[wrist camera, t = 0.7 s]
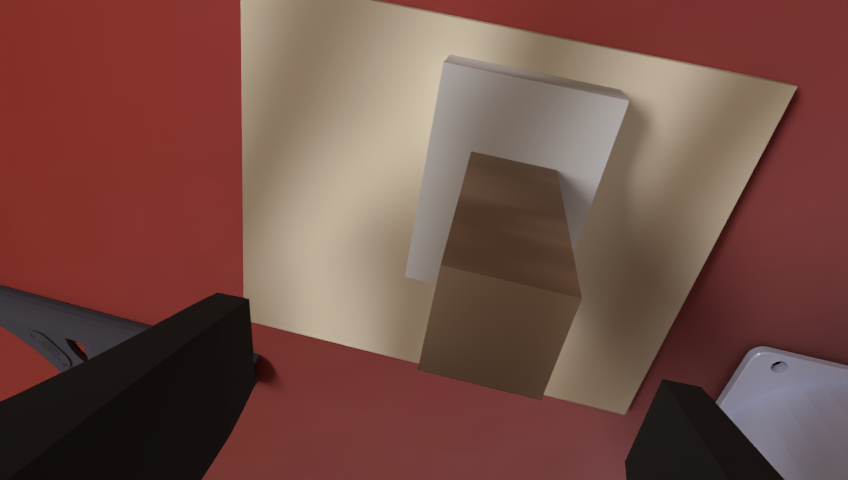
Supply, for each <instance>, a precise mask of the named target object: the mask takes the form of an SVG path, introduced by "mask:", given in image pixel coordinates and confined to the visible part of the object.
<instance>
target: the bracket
mask: <svg viewBox="0 0 848 480" xmlns="http://www.w3.org/2000/svg"><path fill="white" fill-rule="evenodd" d="M0 326H2V327H4V328H5V329H7V330H8V331H10V332H11V333H13V334H14V335H16V336H17V337H19V338H20V339H22V340H23V341H25V342H26V343H27V344H29V345H30V346H31V347H33V348H34V349H35V350H36V351H38V352H39V353H40V354H41V355H42V356H44V357H45V358H46V359H47V360H48V361H49V362H50V363H52V364H53V365H54V366H55V367H56V368H57V369H58V370H59V371H60V372H61V373H62V372H64V371H66V370H68V369H70V368H72V367H74V366H77V365H79V364H81V363H83V362H85V361H87V360H89V359H91V358H93V357H95V356H97V355H99V354H101V353H103V352H105V351H106V350H108V349H110V348H112V347H114V346H116V345H118V344H120V343H122V342H124V341H126V340H127V339H129V338H131V337H133V336H135V335H137V334H139V333H141V332H143V331H145V330H146V329H148V328H150V327H152V326H150V325H146V324H143V323H139V322H135V321H131V320H128V319H124V318H120V317H117V316H113V315H109V314H105V313H102V312H98V311H94V310H91V309H87V308H83V307H80V306H76V305H72V304H68V303H65V302H61V301H57V300H54V299H50V298H46V297H42V296H39V295H35V294H31V293H28V292H24V291H20V290H16V289H13V288H9V287H5V286H2V285H0ZM72 340H73V341H76V342H79V343H81V344H82V345H83V346H84V347H85V350H86V355H87V356H86V355H84V354H83V353H82V352H81V351H80V350H79V349H78V348H77V347H76V346H75V344H74V343H73V341H72ZM253 356H254V365H255V364H256V362H257V361H258V360H259V355H257V354H254V353H253ZM258 380H259V378H258V375H256V374H255V382H256V383H257V382H258ZM255 385H256V384H255Z"/></svg>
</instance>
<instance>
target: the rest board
mask: <svg viewBox="0 0 848 480" xmlns="http://www.w3.org/2000/svg"><path fill="white" fill-rule="evenodd" d="M450 54H451V55H456V56H461V57H466V58H470V59H475V60H480V61H485V62H490V63H495V64H499V65H504V66H509V67H514V68H519V69H523V70H528V71H533V72H538V73H543V74H548V75H552V76H557V77H562V78H567V79H572V80H577V81H581V82H586V83H591V84H596V85H601V86H606V87H610V88H615V89H620V90H621V92H622V93H623V94H624V95H625V96H626V97H627V98H628V100H629V104H628V107H627V109H626V112H625V115H624V117H623V120H622V123H621V126H620V128H619V131H618V134H617V136H616V139H615V142H614V145H613V147H612V150H611V153H610V155H609V158H608V161H607V163H606V166H605V169H604V172H603V174H602V177H601V180H600V182H599V185H598V188H597V191H596V193H595V196H594V199H593V201H592V204H591V207H590V209H589V212H588V215H587V218H586V220H585V223H584V226H583V228H582V231H581V234H580V237H579V239H578V242H577V245H576V247H575V250H574V253H573V255H574V260H575V265H576V270H577V276H578V281H579V286H580V291H581V296H582V300H581V302H580V305H579V307H578V310H577V312H576V315H575V317H574V320H573V322H572V325H571V327H570V330H569V332H568V335H567V337H566V340H565V342H564V345H563V347H562V350H561V352H560V355H559V357H558V360H557V362H556V365H555V367H554V370H553V372H552V375H551V377H550V380H549V382H548V385H547V387H546V390H545V392H544V395H547V396H551V397H555V398H559V399H563V400H567V401H571V402H575V403H579V404H583V405H587V406H591V407H595V408H599V409H603V410H607V411H611V412H615V413H619V414H623V415H625V413H626V411H627V409H628V408H629V406H630V404H631V402H632V400H633V398H634V396H635V394H636V392H637V390H638V389H639V387H640V385H641V383H642V381H643V379H644V377H645V375H646V373H647V372H648V370H649V368H650V366H651V364H652V362H653V360H654V358H655V356H656V354H657V353H658V351H659V349H660V347H661V345H662V343H663V341H664V339H665V337H666V335H667V334H668V332H669V330H670V328H671V326H672V324H673V322H674V320H675V318H676V316H677V315H678V313H679V311H680V309H681V307H682V305H683V303H684V301H685V299H686V297H687V296H688V294H689V292H690V290H691V288H692V286H693V284H694V282H695V280H696V278H697V277H698V275H699V273H700V271H701V269H702V267H703V265H704V263H705V261H706V259H707V258H708V256H709V254H710V252H711V250H712V248H713V246H714V244H715V242H716V240H717V239H718V237H719V235H720V233H721V231H722V229H723V227H724V225H725V223H726V221H727V220H728V218H729V216H730V214H731V212H732V210H733V208H734V206H735V204H736V202H737V201H738V199H739V197H740V195H741V193H742V191H743V189H744V187H745V185H746V183H747V182H748V180H749V178H750V176H751V174H752V172H753V170H754V168H755V166H756V164H757V163H758V161H759V159H760V157H761V155H762V153H763V151H764V149H765V147H766V145H767V144H768V142H769V140H770V138H771V136H772V134H773V132H774V130H775V128H776V126H777V125H778V123H779V121H780V119H781V117H782V115H783V113H784V111H785V109H786V107H787V106H788V104H789V102H790V100H791V98H792V96H793V94H794V92H795V90H796V88H797V86H795V85H792V84H790V83H785V82H780V81H775V80H770V79H765V78H761V77H756V76H751V75H746V74H741V73H736V72H731V71H726V70H721V69H716V68H711V67H706V66H701V65H696V64H691V63H686V62H681V61H676V60H671V59H666V58H661V57H657V56H652V55H647V54H642V53H637V52H632V51H627V50H622V49H617V48H612V47H607V46H602V45H597V44H592V43H587V42H582V41H577V40H572V39H567V38H562V37H557V36H553V35H548V34H543V33H538V32H533V31H528V30H523V29H518V28H513V27H508V26H503V25H498V24H493V23H488V22H483V21H478V20H473V19H468V18H463V17H458V16H453V15H449V14H444V13H439V12H434V11H429V10H424V9H419V8H414V7H409V6H404V5H399V4H394V3H389V2H384V1H379V0H241V78H242V178H243V277H244V298H247V299H249V303H250V316H251V322H254V323H258V324H262V325H266V326H270V327H274V328H278V329H282V330H286V331H290V332H294V333H298V334H302V335H306V336H310V337H314V338H318V339H322V340H326V341H330V342H334V343H338V344H342V345H346V346H350V347H354V348H358V349H362V350H366V351H370V352H374V353H378V354H382V355H386V356H390V357H394V358H398V359H402V360H406V361H410V362H414V363H418V364H419V361H420V356H421V352H422V347H423V342H424V338H425V333H426V329H427V324H428V320H429V315H430V311H431V306H432V302H433V297H434V292H435V288H436V284H434V283H430V282H425V281H421V280H417V279H413V278H409V277H405V273H406V267H407V262H408V256H409V251H410V245H411V240H412V234H413V228H414V223H415V217H416V212H417V206H418V201H419V195H420V190H421V184H422V179H423V173H424V168H425V162H426V156H427V151H428V145H429V140H430V134H431V129H432V123H433V118H434V112H435V107H436V101H437V96H438V90H439V84H440V79H441V73H442V68H443V62H444V61H445V60H446V59H447V57H448V56H449V55H450Z"/></svg>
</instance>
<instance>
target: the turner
mask: <svg viewBox="0 0 848 480" xmlns="http://www.w3.org/2000/svg"><path fill="white" fill-rule="evenodd" d="M628 104H629V100H628V98H627V97H626V96H625V95H624V94H623V93H622V92H621V90H620V89H615V88H610V87H606V86H601V85H596V84H591V83H586V82H581V81H577V80H572V79H567V78H562V77H557V76H552V75H548V74H543V73H538V72H533V71H528V70H523V69H519V68H514V67H509V66H504V65H499V64H495V63H490V62H485V61H480V60H475V59H470V58H466V57H461V56H456V55H451V54H450V55H449V56H448V57H447V59H446V60H445V61H444V62H443V68H442V73H441V79H440V84H439V90H438V96H437V101H436V107H435V112H434V118H433V123H432V129H431V134H430V140H429V145H428V151H427V156H426V162H425V168H424V173H423V179H422V184H421V190H420V195H419V201H418V206H417V212H416V217H415V223H414V228H413V234H412V240H411V245H410V251H409V256H408V262H407V267H406V273H405V277H409V278H413V279H417V280H421V281H425V282H430V283H434V284H436V288H435V292H434V297H433V302H432V306H431V311H430V315H429V320H428V324H427V329H426V333H425V338H424V342H423V347H422V352H421V356H420V361H419V365H418V370H421V371H425V372H429V373H433V374H437V375H441V376H445V377H449V378H453V379H457V380H461V381H465V382H469V383H473V384H477V385H482V386H486V387H490V388H494V389H498V390H502V391H506V392H510V393H514V394H518V395H522V396H526V397H530V398H534V399H538V400H542V397H543V395H544V392H545V390H546V387H547V385H548V382H549V380H550V377H551V375H552V372H553V370H554V367H555V365H556V362H557V360H558V357H559V355H560V352H561V350H562V347H563V345H564V342H565V340H566V337H567V335H568V332H569V330H570V327H571V325H572V322H573V320H574V317H575V315H576V312H577V310H578V307H579V305H580V302H581V300H582V296H581V291H580V286H579V281H578V276H577V270H576V265H575V260H574V255H573V253H574V250H575V247H576V245H577V242H578V239H579V237H580V234H581V231H582V228H583V226H584V223H585V220H586V218H587V215H588V212H589V209H590V207H591V204H592V201H593V199H594V196H595V193H596V191H597V188H598V185H599V182H600V180H601V177H602V174H603V172H604V169H605V166H606V163H607V161H608V158H609V155H610V153H611V150H612V147H613V145H614V142H615V139H616V136H617V134H618V131H619V128H620V126H621V123H622V120H623V117H624V115H625V112H626V109H627V107H628Z"/></svg>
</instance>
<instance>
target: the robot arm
mask: <svg viewBox="0 0 848 480" xmlns="http://www.w3.org/2000/svg"><path fill="white" fill-rule="evenodd" d="M779 361H780V362H781V363H780V364H777V365H773V364H774V363H776V362H779ZM255 384H256V382H255V369H254V356H253V342H252V329H251V316H250V303H249V299H247V298H242V297H237V296H232V295H226V294H221V293H216V294H214V295H212V296H209V297H207V298H205V299H203V300H201V301H199V302H197V303H195V304H193V305H192V306H190V307H188V308H186V309H184V310H182V311H180V312H178V313H176V314H174V315H173V316H171V317H169V318H167V319H165V320H163V321H161V322H160V323H158V324H156V325H154V326H152V327H150V328H148V329H146V330H145V331H143V332H141V333H139V334H137V335H135V336H133V337H131V338H129V339H127V340H126V341H124V342H122V343H120V344H118V345H116V346H114V347H112V348H110V349H108V350H106V351H105V352H103V353H101V354H99V355H97V356H95V357H93V358H91V359H89V360H87V361H85V362H83V363H81V364H79V365H77V366H74V367H72V368H70V369H68V370H66V371H64V372H62V373H60V374H58V375H56V376H54V377H52V378H50V379H48V380H46V381H43V382H41V383H39V384H37V385H35V386H33V387H31V388H29V389H27V390H25V391H23V392H21V393H19V394H16V395H14V396H12V397H10V398H8V399H5V400H3V401H1V402H0V480H201V479H202V478H203V476H204V475H205V473H206V472H207V470H208V469H209V467H210V466H211V464H212V462H213V461H214V459H215V458H216V456H217V455H218V453H219V452H220V450H221V449H222V447H223V445H224V444H225V442H226V441H227V439H228V437H229V436H230V434H231V432H232V430H233V428H234V426H235V425H236V423H237V421H238V419H239V417H240V415H241V413H242V411H243V409H244V407H245V405H246V402H247V400H248V398H249V396H250V394H251V392H252V390H253V388H254V386H255ZM625 466H626V478H627V480H848V366H847V365H843V364H839V363H834V362H830V361H826V360H822V359H817V358H813V357H809V356H805V355H800V354H796V353H792V352H788V351H783V350H779V349H775V348H771V347H764V346H761V347H756V348H754V349H752V350H750V351H749V352H748V353H747V354H746V356H745V357H744V359H743V360H742V362H741V363H740V365H739V367H738V368H737V370H736V371H735V373H734V374H733V376H732V377H731V379H730V381H729V382H728V384H727V385H726V387H725V388H724V390H723V391H722V393H721V395H720V396H719V398H718V399H717V401H716V402H715V401H714V400H713V399H712V398H711V397H710V396H709V395H708V394H707V393H706V392H705V391H704V390H703V389H702V388H701V387H698V386H693V385H688V384H683V383H678V382H673V381H667V380H662V381H661V384H660V386H659V388H658V390H657V392H656V395H655V397H654V399H653V401H652V403H651V406H650V408H649V410H648V412H647V414H646V417H645V419H644V421H643V423H642V426H641V428H640V430H639V432H638V434H637V437H636V439H635V441H634V443H633V445H632V448H631V450H630V452H629V454H628V456H627V459H626V461H625Z"/></svg>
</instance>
